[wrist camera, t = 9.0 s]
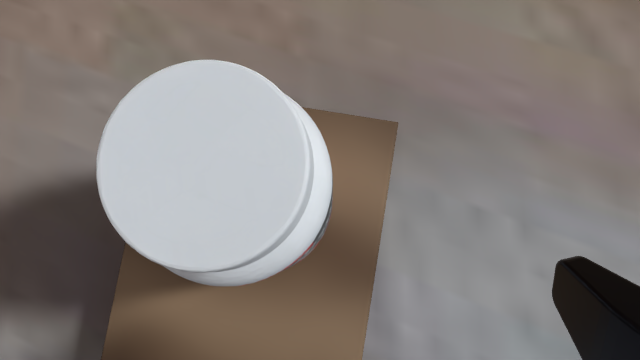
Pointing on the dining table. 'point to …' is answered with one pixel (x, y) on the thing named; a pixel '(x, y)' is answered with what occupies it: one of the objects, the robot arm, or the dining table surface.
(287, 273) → the wooden board
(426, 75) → the dining table surface
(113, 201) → the pill bottle
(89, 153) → the dining table surface
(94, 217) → the dining table surface
